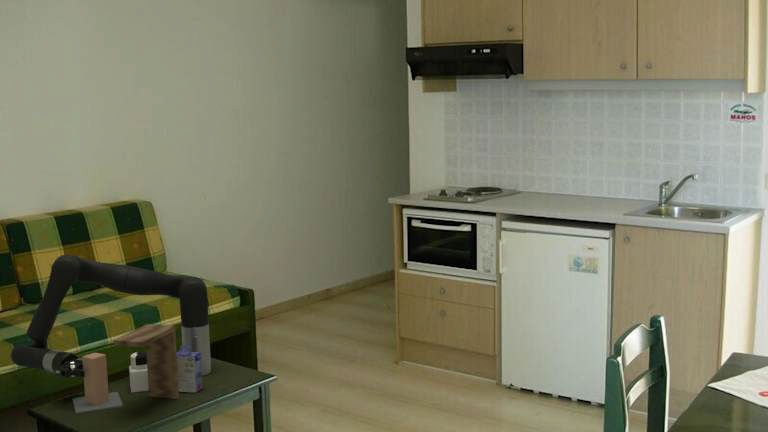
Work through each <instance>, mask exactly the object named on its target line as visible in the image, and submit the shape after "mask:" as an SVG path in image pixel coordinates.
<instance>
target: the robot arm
mask: <svg viewBox="0 0 768 432" xmlns="http://www.w3.org/2000/svg"><path fill="white" fill-rule="evenodd" d="M50 267H51V268H50V272H49V273H50V274H49V278H48V281H47V285H46V288H45V291H44V294H43V296H42V299H41V301H40V302H39V304H38V306H37V308H36V310H35V313H34V315H33V317H32V318H31V321H30V323H29V325H28V328H27V330H26V336H27V338H29V339H30V340H32V341H33V343H32V344H21V343H20V344H18V345H16V346H14V347H13V348H12V350H11V352H10V359H11V361H12V362H13V363H14V364H15V365H16V366H20V367H24V368H25V367H26V368H34V369H39V370H41V371H45V372H49V373H52V374H55V375H56V376H58V377H61V378H65V379H69V378H70V377H72V378H75V377H78V378H83V379H84V377H85V371H84V370H83V359H82V358H79V357H78V355H77V354H75V353H73V352H69V351H64V350H59V349H58V350H57V349H55V350H54V349H50V348H47V345H48V340H49V337H50V334H51V332H52V330H53V327H54V326H55V323H56V320H57V317H58V315H59V311H60V309H61V306H62V304H63V301H64V299H65V297H66V295H67V293H68V292H69V290H70V289H71V288H72V286H73V284H74V283H75V282H85V283H86V282H87V283H93V284H97V285H99V286H102V287H105V288H107V289H109V290H112V291H115V292H118V293H123V294H127V295H128V294H129V295H134V296H168V297H171V298H177V299H179V309H180V326H181V327H180V328H181V340H182V341H181V342H182V345H183V346H191V347H190V352H201V369H202V377H204V376H207V375H209V374H210V373H211V372H212V368H211V367H212V363H211V343H210V342H211V341H210V327H209V326H210V324H209V301H208V300H209V297H208V288H207V285H206V283H205V281H204V280H203V279H201V278H199V277H196V276H188V275H187V276H186V275H185V276H184V275H175V274H167V273H162V272H158V271H154V270H149V269H145V268H142V267H136V266H131V265H130V266H129V265H123V264H119V263H118V264H117V263H109V262H108V263H107V262H100V261H94V260H91V259H88V258H87V259H86V258H83V257H80V256H77V255H74V254H68V253H67V254H63V255H60V256H58V257H57V258H56V259H55V260H54V262H53V263H52V265H51V266H50ZM182 350H188V348H182Z"/></svg>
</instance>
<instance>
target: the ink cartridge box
mask: <svg viewBox="0 0 768 432" xmlns="http://www.w3.org/2000/svg"><path fill="white" fill-rule="evenodd" d="M190 347H191V346H183V345H180V347H179V351H176V352H177V370H178V389H179V393H182V392H183V393H198V392H199V391H200V390H202V389H203V376H202V369H201V352H190ZM183 348H188V350H183Z"/></svg>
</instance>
